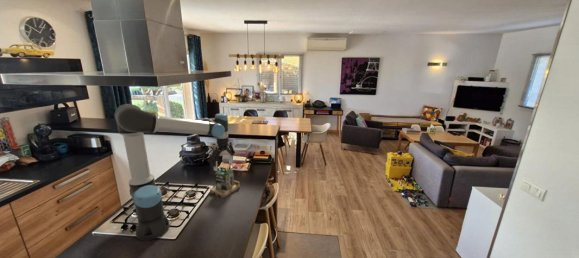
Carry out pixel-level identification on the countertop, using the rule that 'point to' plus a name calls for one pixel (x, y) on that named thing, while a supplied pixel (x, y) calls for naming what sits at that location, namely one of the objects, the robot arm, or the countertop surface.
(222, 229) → the countertop surface
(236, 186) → the dock
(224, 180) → the chalk box
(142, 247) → the countertop surface
